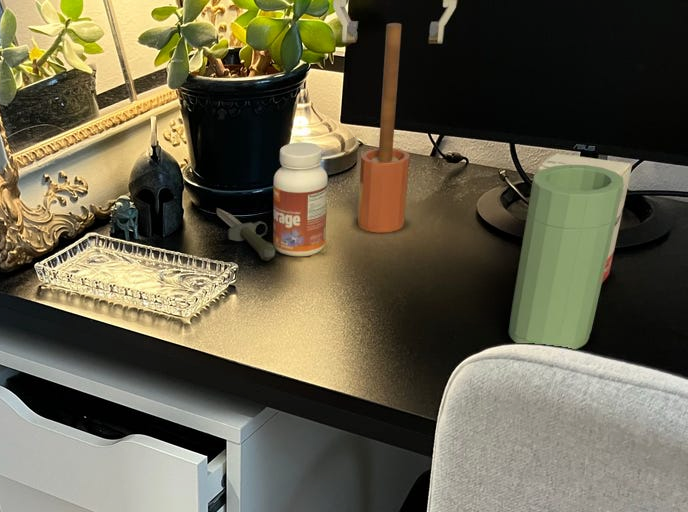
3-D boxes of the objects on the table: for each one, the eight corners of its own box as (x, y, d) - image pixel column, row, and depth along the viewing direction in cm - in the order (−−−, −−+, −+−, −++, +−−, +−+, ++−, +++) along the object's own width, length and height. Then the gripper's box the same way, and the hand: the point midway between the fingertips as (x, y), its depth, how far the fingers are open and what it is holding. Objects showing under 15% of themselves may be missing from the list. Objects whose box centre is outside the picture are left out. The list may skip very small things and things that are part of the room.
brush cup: (406, 216, 126) (411, 148, 120) (401, 233, 122) (406, 164, 116) (361, 214, 127) (364, 147, 121) (355, 231, 123) (358, 163, 117)
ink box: (611, 274, 110) (637, 161, 102) (596, 291, 108) (621, 176, 100) (535, 259, 114) (554, 149, 106) (518, 275, 111) (537, 163, 103)
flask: (587, 319, 103) (621, 165, 93) (589, 355, 97) (626, 196, 87) (509, 314, 105) (534, 163, 94) (507, 349, 99) (533, 192, 89)
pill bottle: (262, 247, 120) (261, 149, 113) (300, 233, 123) (302, 136, 115) (297, 262, 116) (298, 162, 109) (336, 247, 119) (339, 148, 111)
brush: (395, 215, 125) (410, 21, 110) (392, 225, 122) (407, 28, 108) (369, 214, 125) (381, 21, 111) (366, 224, 123) (377, 28, 109)
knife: (201, 202, 128) (238, 196, 129) (202, 218, 130) (238, 212, 131) (253, 248, 115) (294, 241, 116) (253, 266, 116) (294, 259, 117)
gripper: (295, -107, 101) (294, 48, 111) (504, -112, 97) (484, 50, 106) (306, -116, 105) (304, 34, 115) (506, -121, 101) (487, 35, 111)
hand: (392, 42), depth 111 cm, fingers open, 8 cm apart
